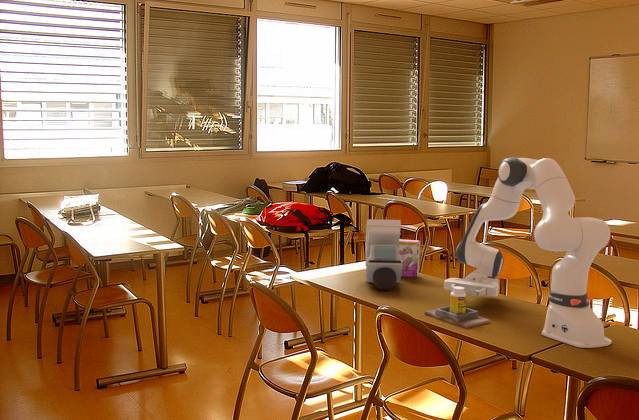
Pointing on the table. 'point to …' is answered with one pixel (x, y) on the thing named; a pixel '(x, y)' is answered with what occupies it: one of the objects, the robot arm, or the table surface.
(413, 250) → the candy bar box
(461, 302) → the supplement bottle
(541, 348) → the table surface
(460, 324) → the cup holder board
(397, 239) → the robot
